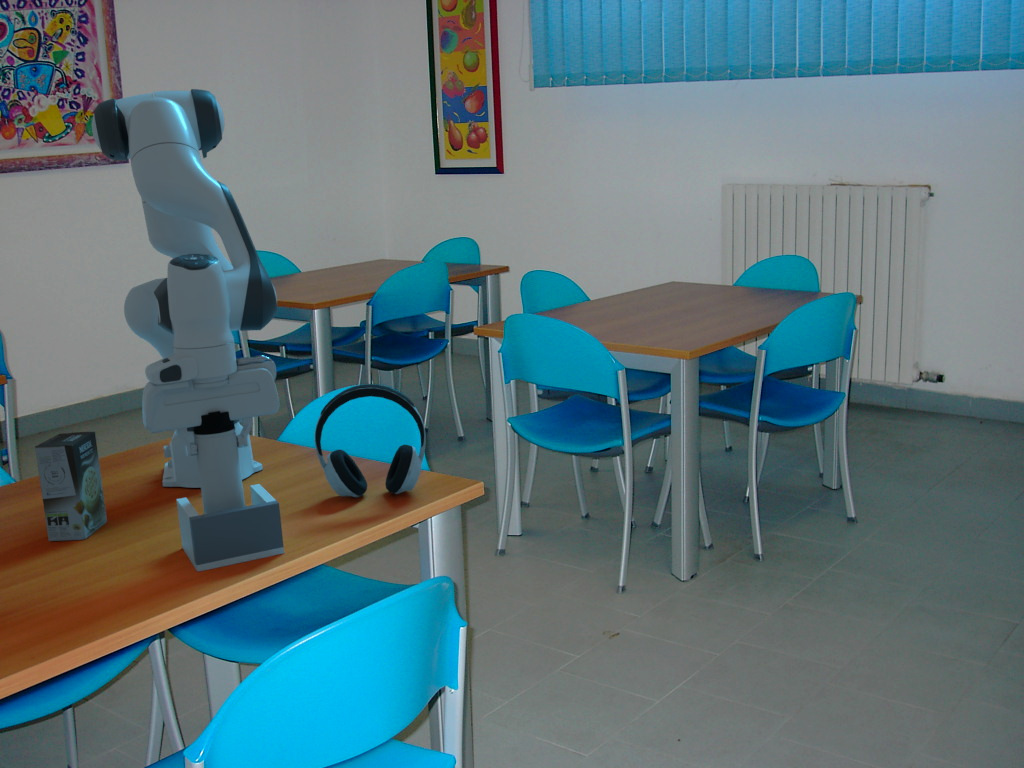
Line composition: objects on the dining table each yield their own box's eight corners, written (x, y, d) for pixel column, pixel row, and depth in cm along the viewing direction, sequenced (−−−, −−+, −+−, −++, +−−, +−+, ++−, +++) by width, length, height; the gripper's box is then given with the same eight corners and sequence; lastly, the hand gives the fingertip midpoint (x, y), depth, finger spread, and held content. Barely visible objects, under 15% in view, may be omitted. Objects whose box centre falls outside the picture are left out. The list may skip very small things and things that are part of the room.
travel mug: (210, 544, 165) (193, 415, 162) (204, 533, 171) (188, 409, 168) (252, 536, 167) (235, 409, 164) (244, 525, 173) (229, 403, 170)
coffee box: (86, 540, 176) (72, 445, 173) (47, 542, 177) (33, 446, 173) (108, 521, 185) (95, 430, 182) (71, 523, 186) (58, 432, 182)
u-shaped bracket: (182, 547, 170) (176, 499, 168) (264, 531, 176) (259, 483, 174) (197, 571, 160) (191, 520, 158) (284, 553, 165) (278, 503, 163)
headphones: (429, 484, 196) (421, 375, 192) (430, 498, 188) (421, 385, 184) (322, 493, 194) (311, 384, 190) (318, 507, 186) (307, 394, 182)
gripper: (269, 350, 171) (278, 435, 174) (134, 369, 163) (146, 458, 165) (279, 356, 166) (289, 443, 169) (140, 375, 157) (153, 467, 160)
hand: (217, 450), depth 167 cm, fingers closed on travel mug, 6 cm apart
